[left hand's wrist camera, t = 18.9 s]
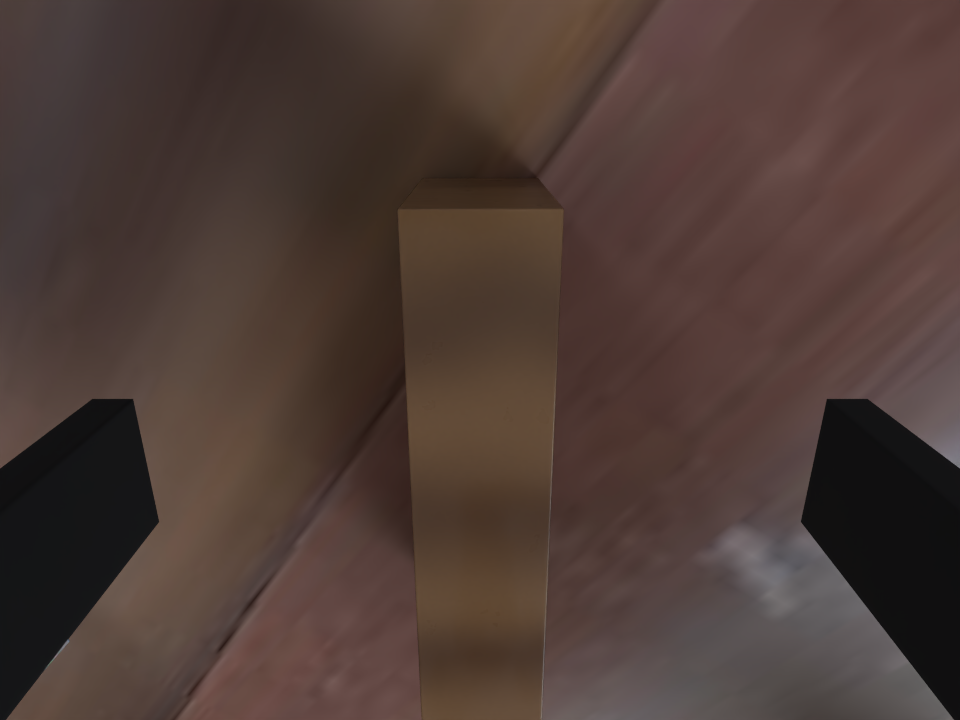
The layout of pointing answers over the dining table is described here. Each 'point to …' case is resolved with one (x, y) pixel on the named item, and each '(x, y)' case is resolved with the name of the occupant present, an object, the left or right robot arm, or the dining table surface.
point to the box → (481, 436)
